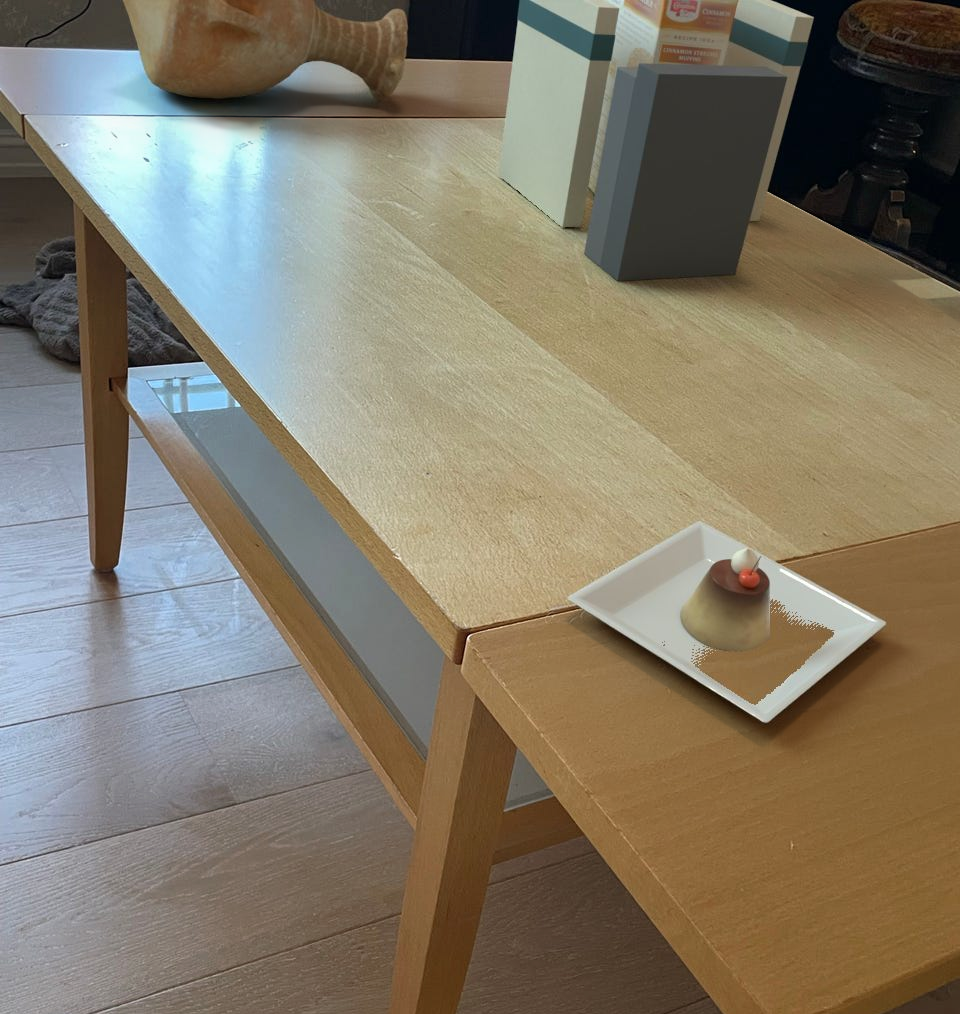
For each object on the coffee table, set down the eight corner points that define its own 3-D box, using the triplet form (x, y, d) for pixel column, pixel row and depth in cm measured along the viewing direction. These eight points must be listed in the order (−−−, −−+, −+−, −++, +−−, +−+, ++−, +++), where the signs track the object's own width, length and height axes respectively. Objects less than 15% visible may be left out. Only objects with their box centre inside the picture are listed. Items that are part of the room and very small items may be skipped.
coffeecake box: (688, 227, 109) (742, -4, 97) (618, 224, 107) (664, -12, 95) (636, 175, 120) (679, -39, 108) (571, 171, 119) (607, -46, 106)
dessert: (759, 741, 53) (789, 661, 50) (562, 614, 59) (578, 536, 56) (880, 639, 61) (912, 564, 58) (694, 536, 67) (715, 463, 64)
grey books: (698, 248, 105) (744, 56, 95) (735, 274, 101) (787, 76, 91) (583, 253, 100) (619, 52, 90) (617, 281, 96) (658, 73, 86)
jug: (94, -63, 123) (359, -11, 137) (105, 118, 124) (368, 152, 137) (125, -179, 105) (427, -106, 119) (138, 33, 106) (436, 83, 119)
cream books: (684, 173, 123) (726, -18, 112) (760, 221, 113) (815, 17, 102) (497, 176, 114) (523, -31, 103) (562, 228, 105) (598, 6, 94)
